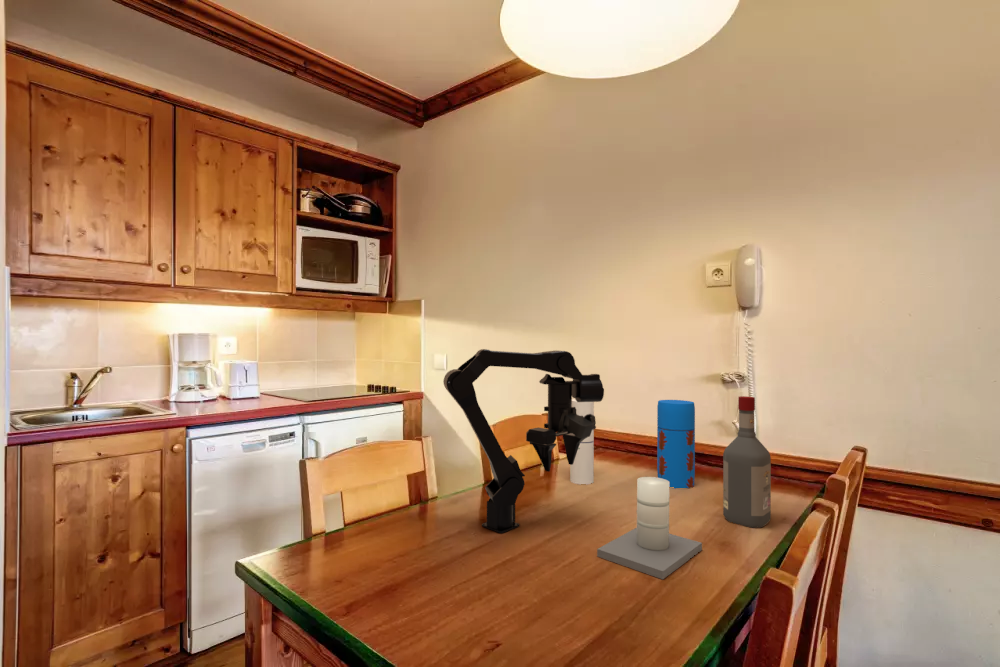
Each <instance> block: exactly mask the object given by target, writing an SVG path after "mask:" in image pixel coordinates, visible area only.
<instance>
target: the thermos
mask: <svg viewBox="0 0 1000 667" xmlns="http://www.w3.org/2000/svg"><path fill="white" fill-rule="evenodd" d="M656 409H657V410H656V412H657V416H656V418H657V419H656V420H657V422H656V423H657V429H656V430H657V435H656V436H657V437H656V439H657V440H656V442H657V444H656V447H657V450H656V451H657V452H656V453H657V455H656V456H657V457H656V458H657V459H656V460H657V463H656V465H657V466H656V467H657V468H656V469H657V470H656V471H657V478H662V479H665V480H668V481H669V482H670V483H669V487H674V488H673V489H676V488H688V489H690V488H689V487H692V488H693V487H695V477H696V476H695V475H696V471H695V470H696V466H695V465H696V459H695V458H696V457H695V455H696V430H695V429H696V408H695V402H694V401H692V400H691V401H690V400H684V399H683V400H681V399H679V400H678V399H660V400H658V401H657V408H656Z"/></svg>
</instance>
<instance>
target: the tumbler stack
mask: <svg viewBox="0 0 1000 667" xmlns="http://www.w3.org/2000/svg"><path fill="white" fill-rule="evenodd" d="M636 482H637V484H636V485H637V486H636V528H637V544H638V545H639V546H641V547H643V548H646V549H650V550H665V549H667V548H668V547H669V534H670V488H669V483H670V482H669V481H668V480H665V479H662V478H658V476H657V477H655V476H641V477H638V478H637V479H636Z"/></svg>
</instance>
